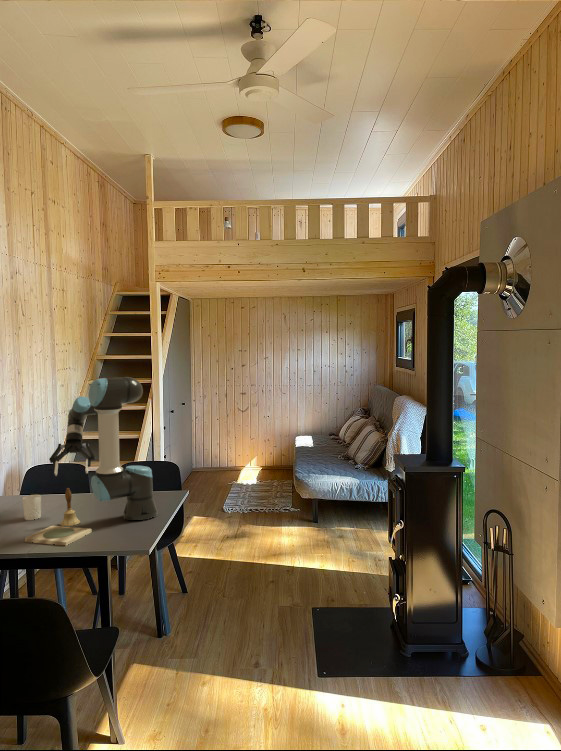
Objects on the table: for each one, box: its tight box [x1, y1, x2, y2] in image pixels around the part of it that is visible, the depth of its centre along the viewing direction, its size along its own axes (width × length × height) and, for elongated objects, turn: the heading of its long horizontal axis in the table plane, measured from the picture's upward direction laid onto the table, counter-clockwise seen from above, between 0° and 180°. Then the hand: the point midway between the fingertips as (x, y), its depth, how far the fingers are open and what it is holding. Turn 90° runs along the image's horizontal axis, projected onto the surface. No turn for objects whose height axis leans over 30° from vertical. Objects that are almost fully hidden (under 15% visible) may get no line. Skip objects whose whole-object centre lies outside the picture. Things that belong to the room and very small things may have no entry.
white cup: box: [22, 494, 42, 521], centre depth 252 cm, size 8×8×10 cm
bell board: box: [24, 525, 93, 547], centre depth 225 cm, size 20×16×2 cm
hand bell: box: [59, 487, 81, 527], centre depth 242 cm, size 8×8×16 cm
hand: (71, 473), depth 253 cm, fingers open, 13 cm apart
